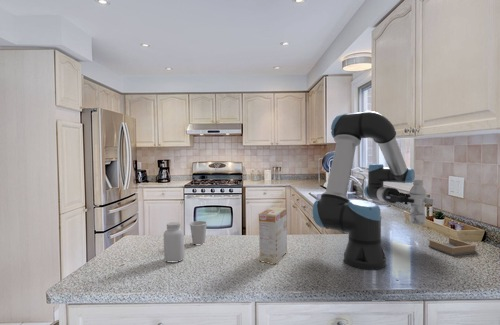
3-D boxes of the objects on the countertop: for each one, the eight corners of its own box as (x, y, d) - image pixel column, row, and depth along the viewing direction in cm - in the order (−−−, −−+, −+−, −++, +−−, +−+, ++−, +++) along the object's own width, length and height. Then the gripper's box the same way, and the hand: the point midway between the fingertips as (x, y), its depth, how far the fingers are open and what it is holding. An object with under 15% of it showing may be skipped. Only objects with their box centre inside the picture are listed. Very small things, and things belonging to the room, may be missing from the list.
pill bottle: (178, 254, 119) (177, 220, 119) (188, 259, 114) (187, 223, 113) (160, 259, 114) (159, 223, 113) (170, 265, 108) (169, 227, 108)
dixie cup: (202, 247, 128) (201, 225, 128) (186, 245, 131) (186, 224, 131) (210, 241, 136) (210, 221, 136) (195, 240, 139) (195, 220, 139)
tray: (454, 255, 112) (454, 248, 112) (428, 246, 124) (428, 239, 124) (476, 252, 115) (476, 245, 115) (449, 243, 127) (449, 237, 127)
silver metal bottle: (421, 222, 128) (421, 179, 127) (429, 226, 121) (429, 181, 121) (406, 222, 128) (406, 179, 128) (413, 226, 122) (414, 180, 121)
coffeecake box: (272, 250, 123) (271, 206, 122) (287, 252, 120) (287, 207, 119) (258, 262, 110) (257, 213, 109) (275, 265, 106) (274, 214, 106)
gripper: (404, 201, 144) (445, 209, 122) (372, 203, 140) (409, 211, 117) (404, 187, 144) (445, 192, 122) (372, 188, 139) (409, 194, 117)
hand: (427, 202), depth 119 cm, fingers closed on silver metal bottle, 6 cm apart
